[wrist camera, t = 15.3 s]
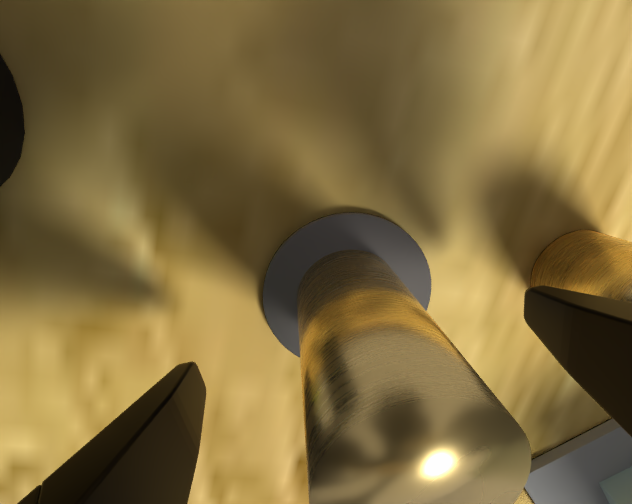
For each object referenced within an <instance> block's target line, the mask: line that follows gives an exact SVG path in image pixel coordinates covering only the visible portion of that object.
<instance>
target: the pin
mask: <svg viewBox="0 0 632 504" xmlns="http://www.w3.org/2000/svg"><path fill="white" fill-rule="evenodd" d="M540 285H545V286H550V287H555V288H560V289H565V290H571V291H576V292H581V293H586V294H591V295H596V296H601V297H606V298H612V299H617V300H622V301H627V302H632V242H629V241H626V240H622V239H619V238H616V237H612V236H609V235H606V234H602V233H599V232H595V231H592V230H579V231H574V232H570V233H568V234H565V235H563V236H561V237H560V238H558V239H557V240H555V241H554V242H552V243H551V244H550V245H549V246H548V247H547V248H546V249H545V250H544V251H543V252H542V254H541V255H540V256H539V258H538V259H537V261H536V263H535V265H534V268H533V271H532V276H531V287H536V286H540Z"/></svg>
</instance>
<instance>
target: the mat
mask: <svg viewBox="0 0 632 504" xmlns="http://www.w3.org/2000/svg"><path fill="white" fill-rule="evenodd" d="M630 467H632V437H631V436H630V435H629V434H628V433H627V432H626V431H625V430H624V429H623V428H622V427H621V426H620V425H619V424H618V423H617V422H616V421H615V420H614V419H611V420H609V421H607V422H605V423H603V424H601V425H599V426H597V427H595V428H593V429H591V430H589V431H587V432H585V433H584V434H582V435H580V436H578V437H576V438H574V439H572V440H570V441H568V442H566V443H564V444H562V445H560V446H558V447H557V448H555V449H553V450H551V451H549V452H547V453H545V454H543V455H541V456H539V457H537V458H535V459H533V460H531V468H530V473H529V476H528V479H527V482H526V484H525V486H524V488H525V489H526V491H527V492H528V494H529V495H530V497H531V498H532V500H533V501H534V503H535V504H609V502H608V500H607V498H606V496H605V494H604V492H603V490H602V488H601V486H600V484H599V482H601V481H603V480H605V479H607V478H609V477H611V476H613V475H615V474H617V473H619V472H621V471H623V470H625V469H628V468H630Z"/></svg>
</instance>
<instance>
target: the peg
mask: <svg viewBox="0 0 632 504" xmlns="http://www.w3.org/2000/svg"><path fill="white" fill-rule="evenodd" d="M297 312H298V328H299V345H300V361H301V377H302V393H303V409H304V426H305V442H306V458H307V474H308V491H309V504H514V503H515V501H516V500H517V498H518V497H519V495H520V494H521V492H522V490H523V488H524V486H525V484H526V482H527V479H528V476H529V473H530V468H531V449H530V445H529V441H528V439H527V437H526V435H525V433H524V431H523V430H522V429H521V427H520V426H519V424H518V423H517V422H516V421H515V419H514V418H513V417H512V416H511V415H510V413H509V412H508V411H507V410H506V408H505V407H504V406H503V405H502V404H501V402H500V401H499V400H498V399H497V397H496V396H495V395H494V394H493V392H492V391H491V390H490V389H489V388H488V386H487V385H486V384H485V383H484V381H483V380H482V379H481V378H480V377H479V375H478V374H477V373H476V372H475V370H474V369H473V368H472V367H471V365H470V364H469V363H468V362H467V361H466V359H465V358H464V357H463V356H462V354H461V353H460V352H459V351H458V350H457V348H456V347H455V346H454V345H453V343H452V342H451V341H450V340H449V338H448V337H447V336H446V335H445V334H444V332H443V331H442V330H441V329H440V327H439V326H438V325H437V324H436V323H435V321H434V320H433V319H432V318H431V316H430V315H429V314H428V313H427V311H426V310H425V309H424V308H423V307H422V305H421V304H420V303H419V302H418V300H417V299H416V298H415V297H414V296H413V294H412V293H411V292H410V291H409V289H408V288H407V287H406V286H405V284H404V283H403V282H402V281H401V280H400V278H399V277H398V276H397V275H396V273H395V272H394V271H393V270H392V269H391V267H390V266H389V265H388V264H387V263H386V262H385V261H384V260H382V259H381V258H380V257H378V256H376V255H374V254H372V253H369V252H366V251H362V250H342V251H337V252H334V253H331V254H329V255H326V256H325V257H323V258H321V259H320V260H318V261H317V262H315V263H314V264H313V265H312V266H311V267H310V268H309V269H308V271H307V272H306V273H305V275H304V276H303V278H302V280H301V282H300V284H299V288H298V292H297Z"/></svg>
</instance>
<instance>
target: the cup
mask: <svg viewBox="0 0 632 504" xmlns="http://www.w3.org/2000/svg"><path fill="white" fill-rule="evenodd" d="M24 134H25V130H24V119H23V108H22V103H21V100H20V97H19V94H18V91H17V88H16V85H15V82H14V79H13V76H12V74H11V72H10V71H9V69H8V67H7V65H6V63H5V62H4V60H3V58H2V56H1V55H0V186H1V185H2V184H3V183H4V182H5V181H6V180H7V179H8V178H10V176H11V174H12V172H13V170H14V168H15V167H16V165H17V163H18V161H19V159H20V157H21V151H22V146H23V140H24Z"/></svg>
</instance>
